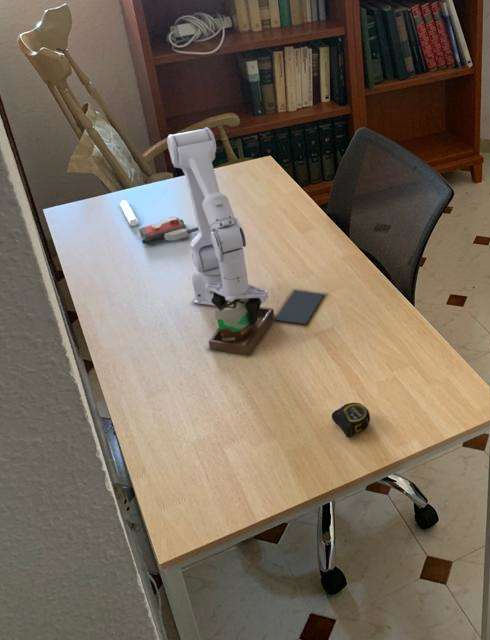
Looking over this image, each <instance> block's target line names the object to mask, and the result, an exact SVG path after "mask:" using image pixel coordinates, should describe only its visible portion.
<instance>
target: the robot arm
mask: <svg viewBox="0 0 490 640" xmlns="http://www.w3.org/2000/svg"><path fill="white" fill-rule="evenodd" d="M166 142H167V149H168V153H169V156H170V161H171V164H172V165H173V167H174V168H177V169H181V170H182V172H183V175H184V176H185V181H186V184H187V189H188V193H189V197H190V201H191V205H192V209H193V214H194V217H195V222H196V225H197V226H196V227H198V230H199V231H198V233H197V235H196V236H195V237H194V238H193V239H192V240H191V242H190V245H189V246H190V247H189V248H190V254H191V255H190V256H191V260H192V263H193V266H194V269H193V270H192V275H191V281H192V286H193V292H194V297H195V300H194V303H195V304H198V305H199V304H200V305H206V306H212V307H216V308H217V309H218V310H219V309H220V308H221V307H222V305H223V304H224V302H225V300H226V301H234V300H235V299H245V298H249V301H248V302H247V303H246V305H245V307H246V308H247V311H248V313H249V317H250V323H251V325H252V327H253V326H255V325H256V324H257V323H258V317H259V316H258V312H259V308H260V307H261V305H262V303H266V301H267V300H268V299H269V292H268V290H264V289H261V288H260V287H259V288H258V287H256V286H253V285H251V284H249V279H248V273H247V265H246V258H245V251H244V248H246V247H247V240H246V235H245V231H244V229H243V226H242V225H241V223H240V222H239V220H238V218H236V216H235V215H234V212H233V210H232V206H231V204H230V201H229V198H228V197H227V195H225V194H223V193H221V191H220V187H219V183H218V180H217V177H216V172H215V169H214V164H213V162H214V160H215V159H216V152H217V142H216V139H215V134H214V133H213V131H212V130H211V129H210V128H209V127H204V128H201V129H196V130H190V131H185V132H180V133H175V134H168V136H167V138H166Z"/></svg>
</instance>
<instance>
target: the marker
mask: <svg viewBox="0 0 490 640" xmlns="http://www.w3.org/2000/svg"><path fill="white" fill-rule="evenodd" d="M119 206H120V208H121V210H122V212H123V214H124V216H125V218H126V220H127V222H128V223H129V225H131V226H132V227H135V226H138V224H139V220H138V219H137V216H136V215H135V213H134V211H133V209H132V208H131V205H130V204H129V202H128V201H127V200H122V201H121V202H120V203H119Z"/></svg>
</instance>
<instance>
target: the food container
mask: <svg viewBox="0 0 490 640" xmlns="http://www.w3.org/2000/svg"><path fill="white" fill-rule="evenodd" d="M248 301H249V298H245V299H235V300H234V301H226V300H225V302H224V304H223V305H222V307H221V308H220V309H218V310H214V319H215V320H216V321H217V324H218V328H219V329H220V333H221V337H222V339H221V341H224V342H230V343H239V342H241V341H243V340H246V339H247V338H249V337H250V336H251V335H252V334H253V333H252V332H253V326H252V325H251V323H250V317H249V313H248V311H247V308H246V307H245V305H246V303H247V302H248Z"/></svg>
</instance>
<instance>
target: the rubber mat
mask: <svg viewBox="0 0 490 640" xmlns="http://www.w3.org/2000/svg"><path fill="white" fill-rule="evenodd" d="M324 296H325V294H323V293H317V292H309V291H301V290H296V289H295V290H294V291H293V292H292V294H291V295H290V297H289V298H288V299H287V301H286V302H285V304H284V305H283V306H282V308H281V310H280V311H279V312H278V314H277V316H276V317H274V321H275V322H281V323H282V322H283V323H289V324H296V325H303V326H306V325H307V324H308V322H309V321H310V318H311V317H312V316H313V314H314V313H315V311H316V310H317V308H318V306H319V304H320V303H321V301H322V300H323V298H324Z"/></svg>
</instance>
